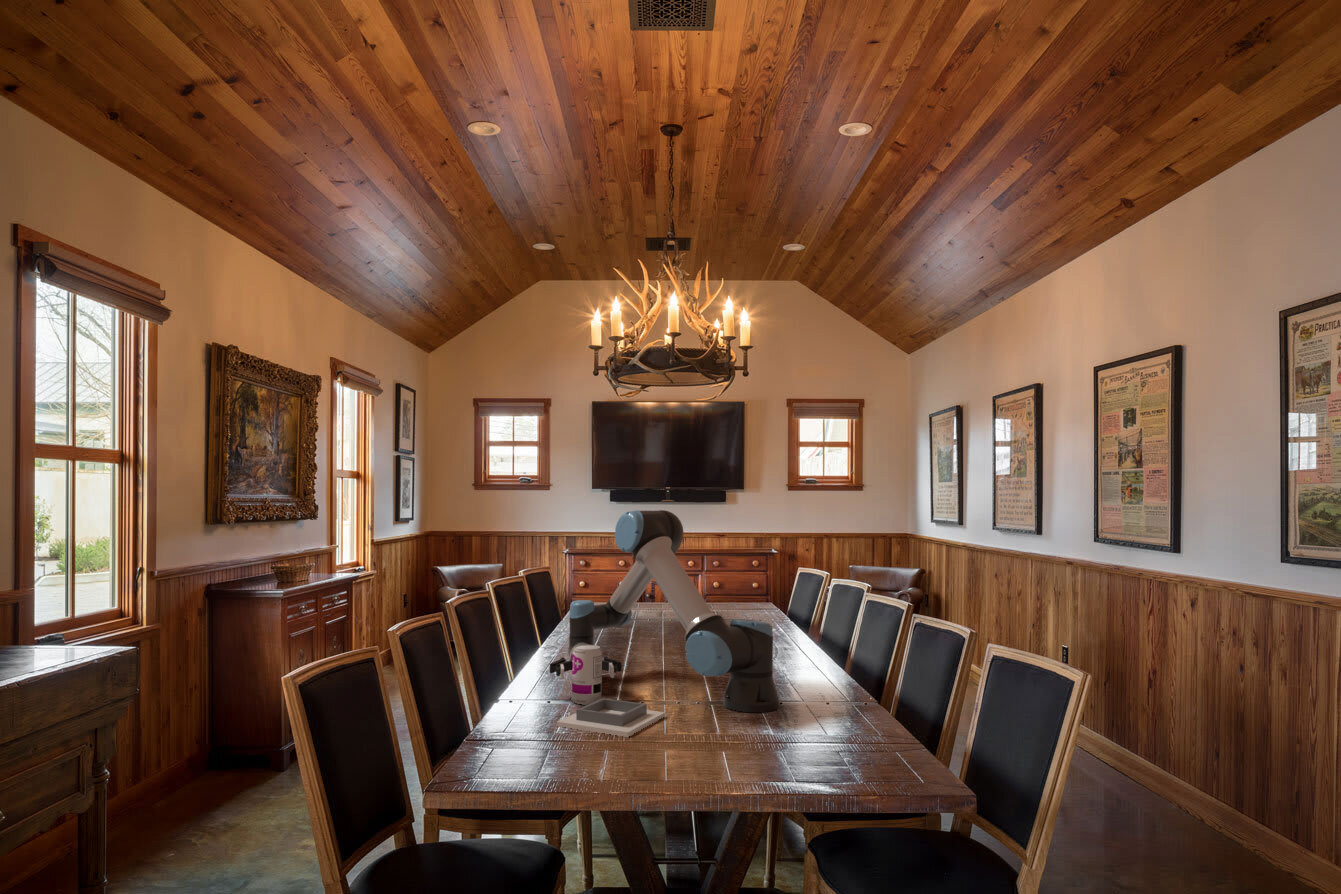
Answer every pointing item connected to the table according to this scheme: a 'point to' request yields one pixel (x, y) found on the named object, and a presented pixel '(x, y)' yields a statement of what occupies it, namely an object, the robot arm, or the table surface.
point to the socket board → (612, 717)
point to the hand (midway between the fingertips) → (587, 673)
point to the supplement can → (586, 674)
